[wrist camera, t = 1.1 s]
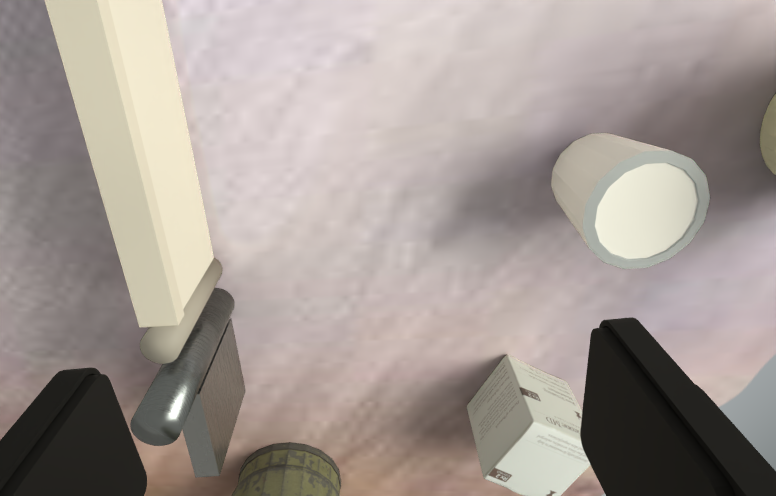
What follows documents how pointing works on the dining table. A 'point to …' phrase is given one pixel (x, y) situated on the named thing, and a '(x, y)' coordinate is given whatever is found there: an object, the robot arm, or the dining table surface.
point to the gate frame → (197, 391)
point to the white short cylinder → (630, 198)
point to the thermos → (288, 472)
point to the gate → (140, 160)
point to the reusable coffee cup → (769, 136)
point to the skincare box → (527, 430)
